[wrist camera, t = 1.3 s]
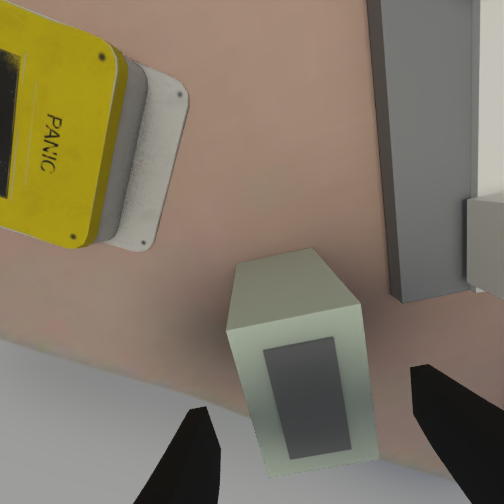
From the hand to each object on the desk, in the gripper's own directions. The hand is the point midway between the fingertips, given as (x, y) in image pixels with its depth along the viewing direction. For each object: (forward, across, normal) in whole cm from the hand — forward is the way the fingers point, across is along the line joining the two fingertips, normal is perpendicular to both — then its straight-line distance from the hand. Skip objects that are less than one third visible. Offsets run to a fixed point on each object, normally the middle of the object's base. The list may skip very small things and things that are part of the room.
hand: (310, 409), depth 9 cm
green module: (+7, 0, 0) cm, 7 cm away
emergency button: (+8, +11, -13) cm, 19 cm away
